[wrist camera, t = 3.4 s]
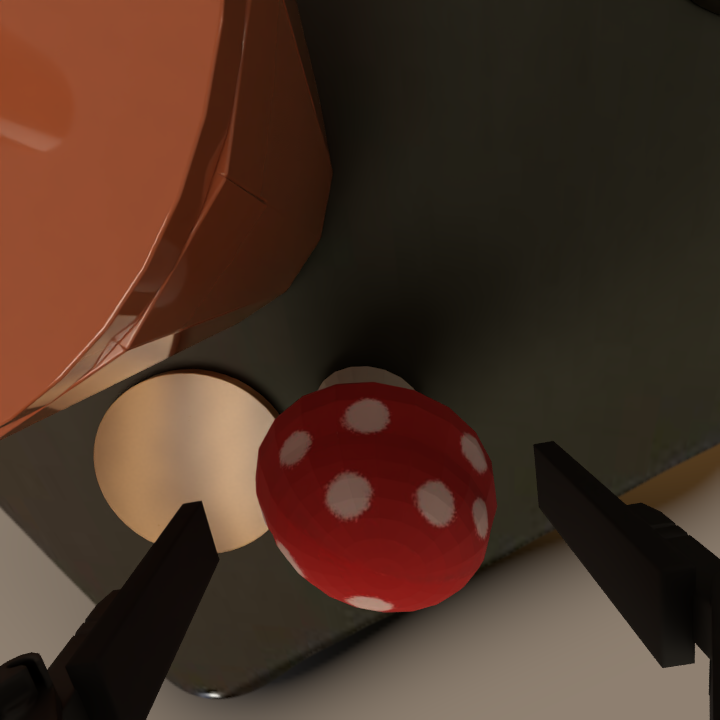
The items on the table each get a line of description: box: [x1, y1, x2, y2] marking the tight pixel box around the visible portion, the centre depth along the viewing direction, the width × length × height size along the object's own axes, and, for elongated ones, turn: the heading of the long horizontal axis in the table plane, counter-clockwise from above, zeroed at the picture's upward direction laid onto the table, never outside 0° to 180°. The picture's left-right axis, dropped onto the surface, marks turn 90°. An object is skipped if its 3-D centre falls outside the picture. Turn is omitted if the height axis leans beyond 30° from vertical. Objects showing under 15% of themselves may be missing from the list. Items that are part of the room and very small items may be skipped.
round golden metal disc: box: [94, 369, 279, 553], centre depth 27 cm, size 13×13×1 cm
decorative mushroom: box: [255, 366, 497, 612], centre depth 19 cm, size 10×9×15 cm
